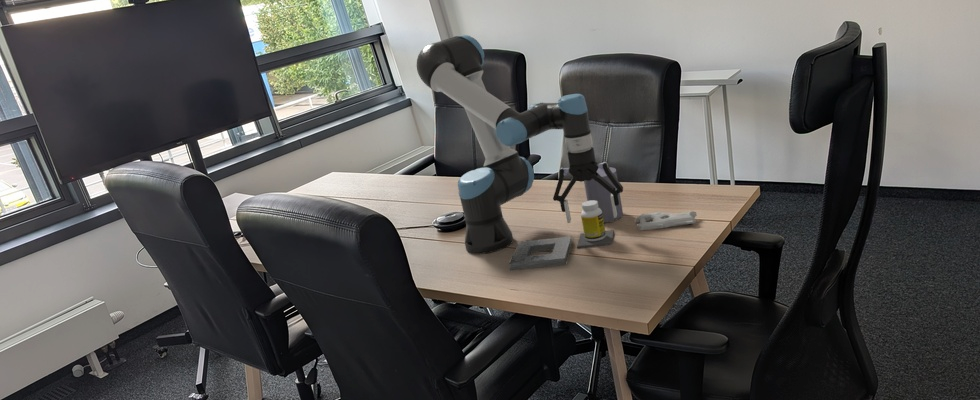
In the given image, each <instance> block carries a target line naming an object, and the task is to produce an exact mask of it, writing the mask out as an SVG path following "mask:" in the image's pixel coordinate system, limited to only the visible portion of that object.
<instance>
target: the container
mask: <svg viewBox="0 0 980 400" xmlns="http://www.w3.org/2000/svg"><path fill="white" fill-rule="evenodd" d="M609 169H610V170H611V171H612V173H613V174H614V175H615V177H616V178H617V180H618V173H617V169H616V168H615V167H612V166H611V167H610V166H609ZM597 173H598V174H599V175H600V176H601V177H602V178H604V179H605V180H606V181H607V182H608V183H610V184H611V185H612V186H613V187H614V188H615V189H617V188H616V187H615V186H614V184H613V183H612V182H611V180H610V179H609V178H608V176H607V175H606V174H605V172H604V171H602V170H601V169H600V168H598V170H597ZM618 181H619V180H618ZM583 183H584V190H585V194H586V201H590V200H595V201H597V202H598V208H600V209H601V210H602V215H603V221H604V224H606V223H612V222H615V221H618V220H619V219H621V218H622V217H623V216H624V211H623V205H622V199H621V193H619V194H618V199H619V204H618V205H617V206H616V211H617V217H616V218H614V215H613V209H612V203H611V193H610V192H609V191H608V190H607V189H605V188H604V187H603V186H602V185H601V184H599V183H598V182H597V181H595V180H594V179H591V180H590V181H586V180H585V181H583Z"/></svg>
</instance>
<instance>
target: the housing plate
mask: <svg viewBox="0 0 980 400" xmlns="http://www.w3.org/2000/svg"><path fill="white" fill-rule="evenodd" d="M572 245H573V237H572V235H570V236H560V237H553V238H543V239H542V238H541V239H535V240H525V241H518V244H517V246H516V247H515V249H514V252H513V254H512V257H511V259H510V261H509V263H508V266H509V271H517V270H526V269H536V268H538V269H539V268H546V267H547V268H548V267H556V266H557V267H558V266H566V265H567V263H568V259H569V255H570V253H571V249H572ZM546 251H552V252H551V253H546V254H536V255H532V253H537V252H546Z"/></svg>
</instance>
